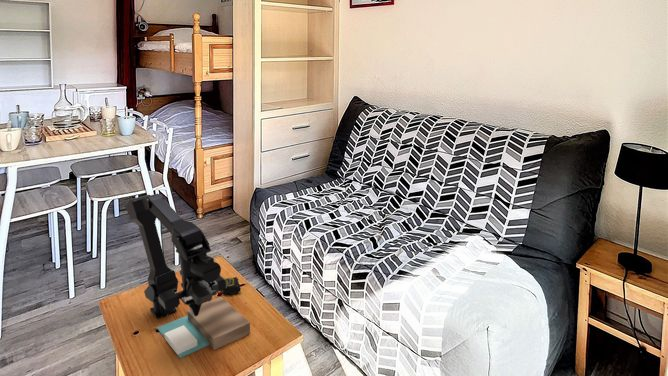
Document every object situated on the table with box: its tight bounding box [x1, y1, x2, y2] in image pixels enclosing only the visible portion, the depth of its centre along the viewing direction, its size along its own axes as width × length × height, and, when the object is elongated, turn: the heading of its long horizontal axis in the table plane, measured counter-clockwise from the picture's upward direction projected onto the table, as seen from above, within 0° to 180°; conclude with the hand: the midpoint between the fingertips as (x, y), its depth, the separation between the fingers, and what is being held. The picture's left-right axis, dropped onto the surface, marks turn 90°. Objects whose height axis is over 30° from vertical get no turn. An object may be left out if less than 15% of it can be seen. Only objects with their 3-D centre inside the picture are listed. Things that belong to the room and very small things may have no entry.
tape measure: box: [221, 276, 242, 295], centre depth 157 cm, size 7×7×4 cm
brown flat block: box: [186, 296, 251, 351], centre depth 137 cm, size 18×12×4 cm, turn 42°
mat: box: [156, 315, 210, 359], centre depth 133 cm, size 17×10×1 cm, turn 42°
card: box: [164, 325, 198, 356], centre depth 130 cm, size 9×6×2 cm, turn 43°
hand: (195, 315), depth 131 cm, fingers closed
